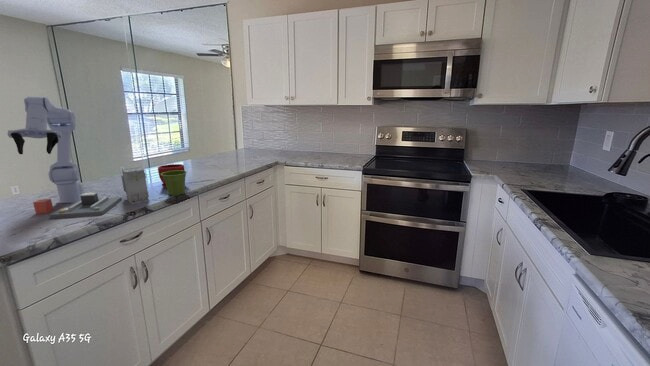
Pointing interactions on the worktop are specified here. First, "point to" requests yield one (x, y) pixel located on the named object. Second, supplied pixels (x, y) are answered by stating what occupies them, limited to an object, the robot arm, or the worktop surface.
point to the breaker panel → (86, 208)
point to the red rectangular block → (43, 206)
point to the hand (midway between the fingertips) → (34, 152)
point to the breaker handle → (89, 198)
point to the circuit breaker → (135, 185)
